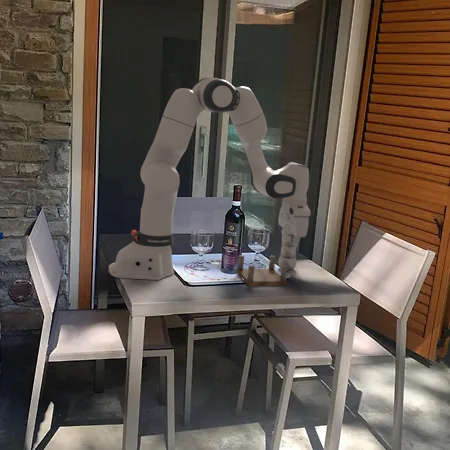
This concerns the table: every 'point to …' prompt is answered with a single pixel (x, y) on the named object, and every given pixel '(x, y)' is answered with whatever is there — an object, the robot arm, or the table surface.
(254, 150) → the robot arm
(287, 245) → the plastic bottle
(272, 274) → the peg stand
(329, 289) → the table surface
